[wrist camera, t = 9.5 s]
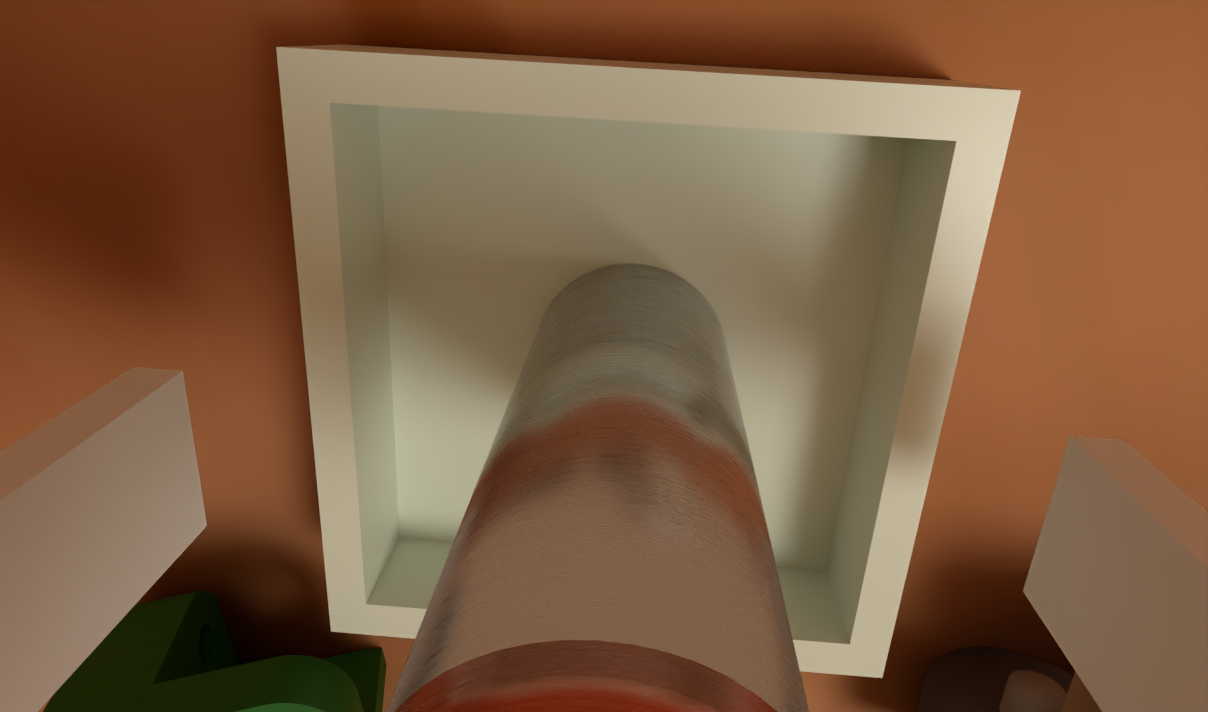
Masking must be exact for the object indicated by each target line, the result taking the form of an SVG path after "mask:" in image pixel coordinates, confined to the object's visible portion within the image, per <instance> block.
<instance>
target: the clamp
mask: <svg viewBox="0 0 1208 712" xmlns="http://www.w3.org/2000/svg"><path fill="white" fill-rule="evenodd" d="M385 675H386V662H385V658H384V654H383V651H382V648H376V649H363V650H359V651H354V652H350V653H345V654H341V655H336V656H332V657H327V658H323V659H320V658H317V657H313V656H306V655H284V656H278V657H273V658H269V659H264V660H260V661H255V662H251V663H246V664H242V665H240V664H239V661H238V658H237V655H236V653H235V650H234V647H233V644H232V642H231V639H230V636H229V633H228V631H227V628H226V625H225V622H224V620H223V617H222V614H221V611H220V609H219V606H218V603H217V600H216V598H215V597H214V595H213V594H212V593H211V592H209V591H207V590H200V591H196V592H191V593H186V594H181V595H176V596H172V597H167V598H162V599H157V600H153V601H148V602H143V603H138V604H135V605H134V607H133V608H132V609H131V610H130V611H129V612H128V613H127V614H126V615H125V616H124V618H123V619H122V620H121V621H120V622H119V623H118V624H117V625H116V626H115V627H114V629H113V630H112V631H111V632H110V633H109V634H108V635H107V636H106V637H105V638H104V640H103V641H102V642H101V643H100V644H99V645H98V646H97V647H96V648H95V649H94V651H93V652H92V653H91V654H90V655H89V656H88V657H87V658H86V659H85V660H84V662H83V663H82V664H81V665H80V666H79V667H78V668H77V669H76V670H75V671H74V673H73V674H72V675H71V676H70V677H69V678H68V679H67V680H66V681H65V682H64V683H63V685H62V686H61V687H60V688H59V689H58V690H57V691H56V692H55V693H54V695H53V696H52V698H51V700H50V701H49V703H48V704H47V706H46V708H45V709H44V711H43V712H382V707H383V696H384V685H385Z"/></svg>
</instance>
